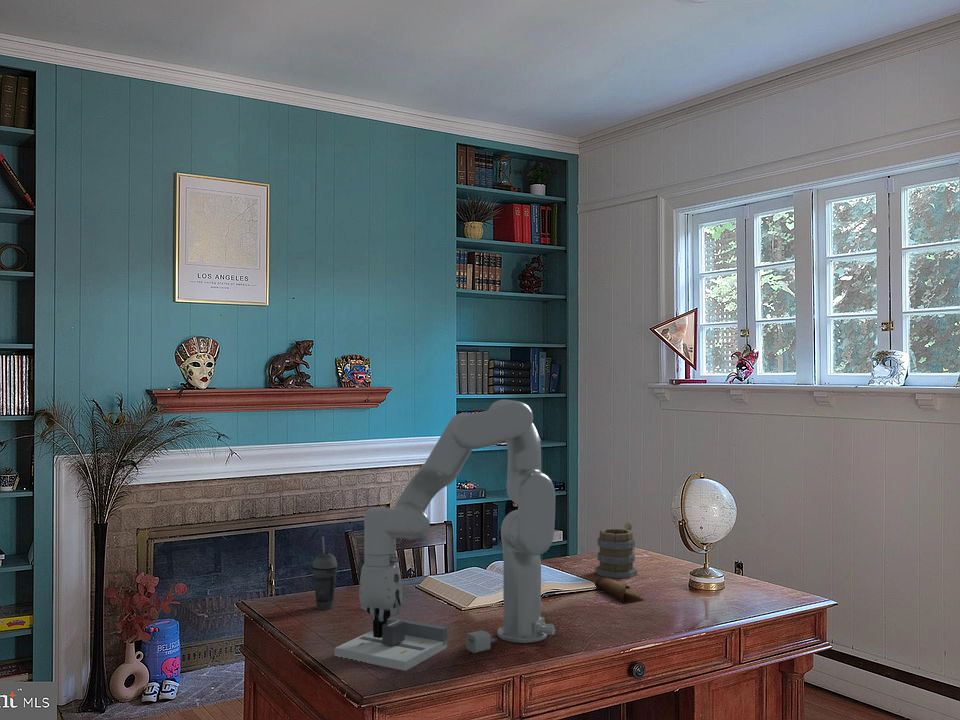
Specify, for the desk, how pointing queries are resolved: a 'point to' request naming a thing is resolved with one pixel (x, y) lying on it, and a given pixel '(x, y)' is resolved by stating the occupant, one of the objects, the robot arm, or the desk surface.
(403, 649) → the console
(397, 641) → the fader knob
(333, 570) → the beverage cup
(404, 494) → the robot arm
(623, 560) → the tankard
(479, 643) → the usb wall charger
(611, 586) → the sunglasses case
